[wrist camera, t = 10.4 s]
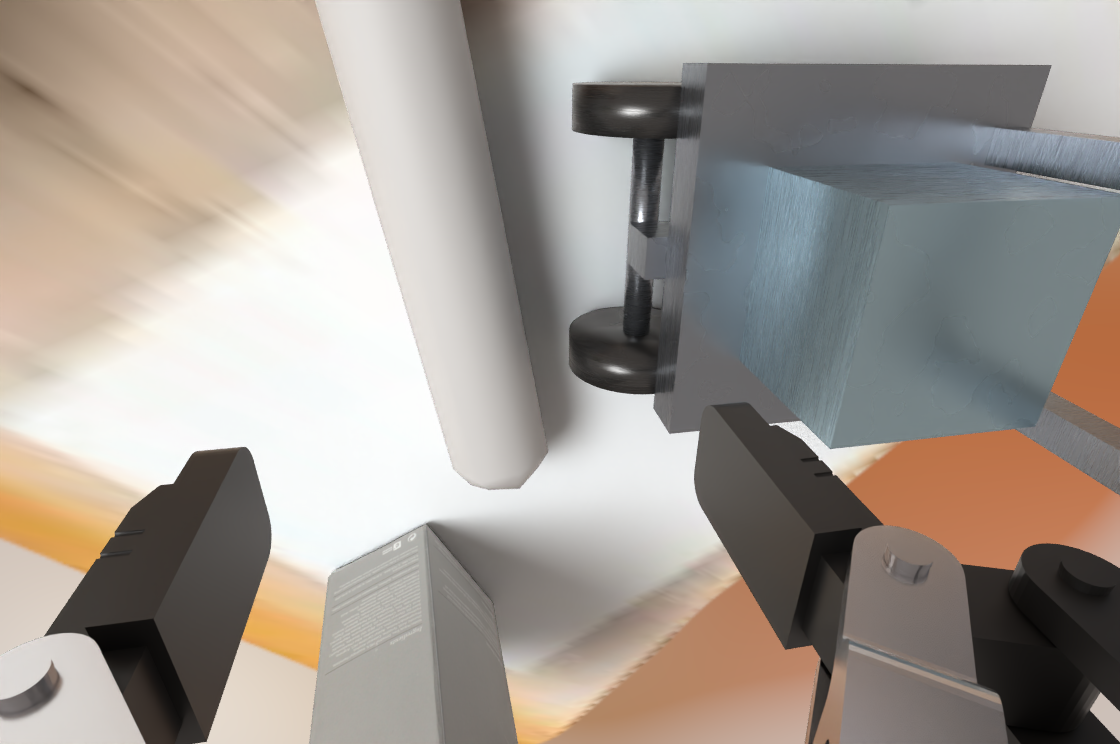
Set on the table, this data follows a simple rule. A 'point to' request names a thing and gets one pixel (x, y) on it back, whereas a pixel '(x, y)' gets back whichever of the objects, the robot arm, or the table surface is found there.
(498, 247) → the tube
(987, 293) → the trolley
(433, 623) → the skincare box
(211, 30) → the table surface
